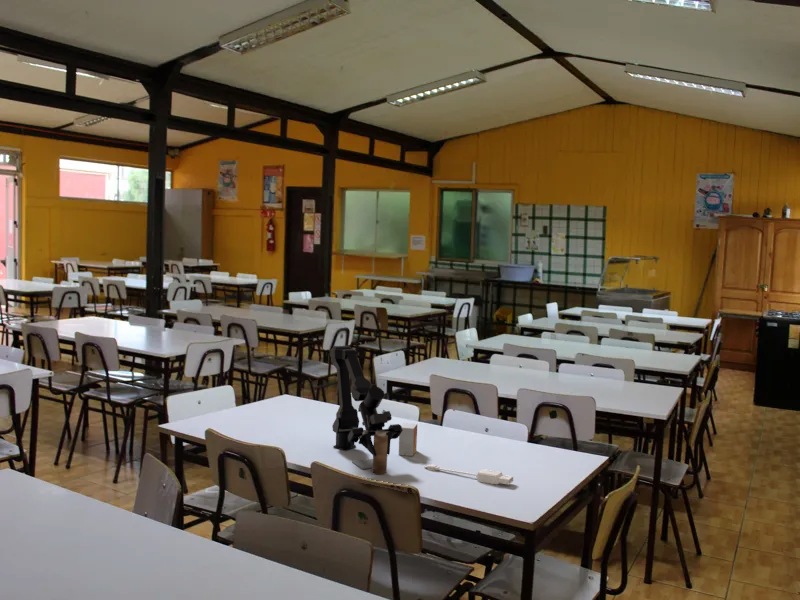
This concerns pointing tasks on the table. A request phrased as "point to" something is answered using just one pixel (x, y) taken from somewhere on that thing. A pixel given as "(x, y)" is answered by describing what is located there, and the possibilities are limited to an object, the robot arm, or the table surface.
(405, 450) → the small box
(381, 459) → the pepper mill
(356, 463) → the coaster
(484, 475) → the charging cable
